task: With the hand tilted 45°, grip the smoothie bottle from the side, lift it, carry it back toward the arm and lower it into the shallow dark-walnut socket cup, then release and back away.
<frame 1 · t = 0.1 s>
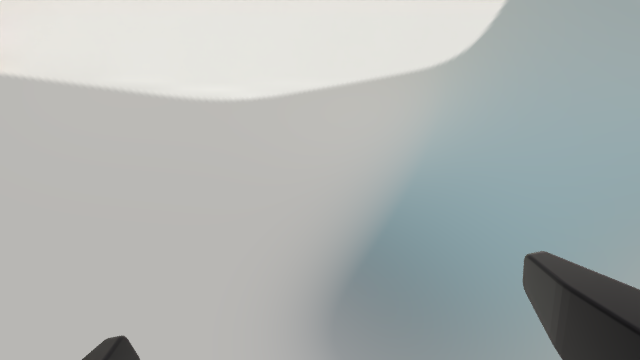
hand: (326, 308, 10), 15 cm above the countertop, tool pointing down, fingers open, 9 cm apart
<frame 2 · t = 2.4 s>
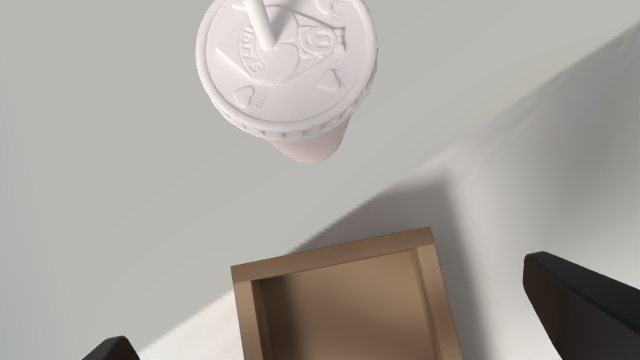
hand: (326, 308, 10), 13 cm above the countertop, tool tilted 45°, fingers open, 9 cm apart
smoothie: (310, 131, 26), on the countertop
socket block: (350, 342, 23), on the countertop
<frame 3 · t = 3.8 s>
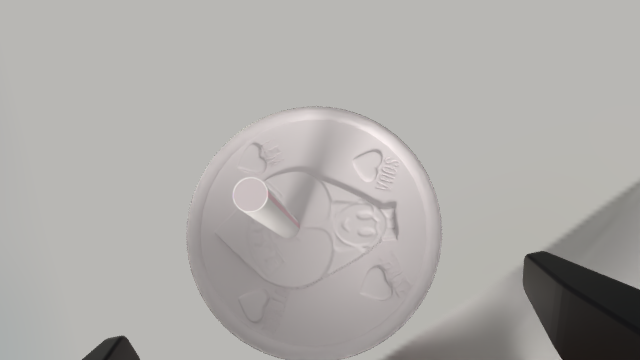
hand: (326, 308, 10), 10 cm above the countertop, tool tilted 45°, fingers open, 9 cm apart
smoothie: (331, 252, 21), on the countertop
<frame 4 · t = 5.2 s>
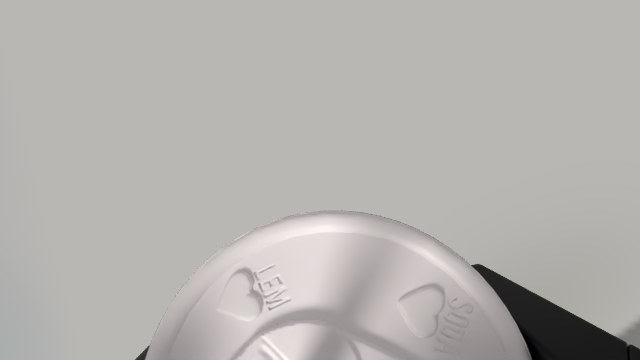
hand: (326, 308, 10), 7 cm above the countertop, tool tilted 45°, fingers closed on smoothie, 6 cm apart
smoothie: (345, 336, 17), on the countertop, touching gripper
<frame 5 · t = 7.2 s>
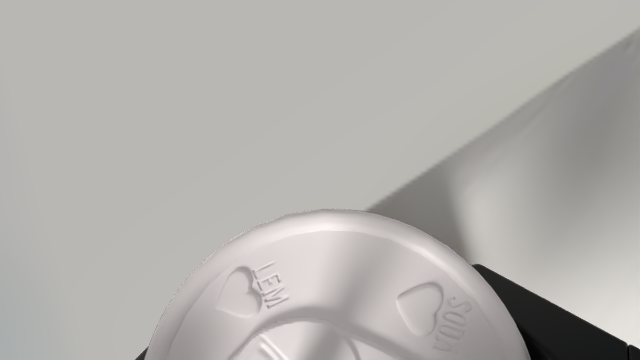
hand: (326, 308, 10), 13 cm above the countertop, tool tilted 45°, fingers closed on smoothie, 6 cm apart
smoothie: (347, 334, 17), point 6 cm above the countertop, touching gripper
when the fingers open (8 cm above the countertop, at t = 9.1 s): smoothie drops 1 cm, resting on socket block.
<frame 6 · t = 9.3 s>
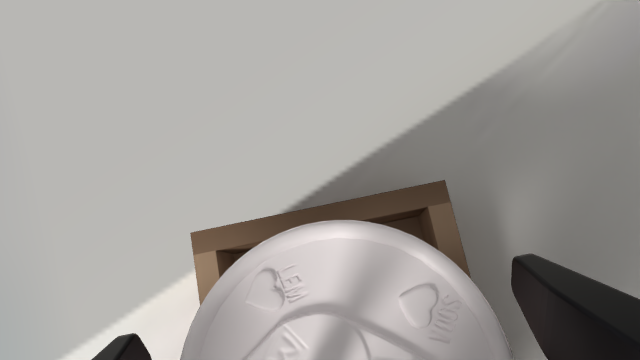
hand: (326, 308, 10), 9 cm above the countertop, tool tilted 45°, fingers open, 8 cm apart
smoothie: (349, 334, 18), resting on socket block
socket block: (344, 330, 18), on the countertop
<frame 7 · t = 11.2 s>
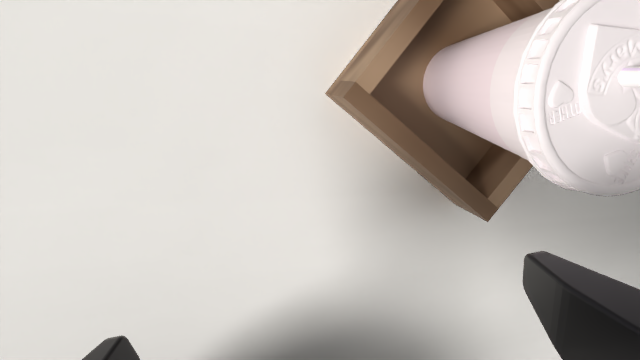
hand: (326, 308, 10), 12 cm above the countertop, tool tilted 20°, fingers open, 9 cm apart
smoothie: (456, 83, 23), resting on socket block
socket block: (452, 79, 23), on the countertop
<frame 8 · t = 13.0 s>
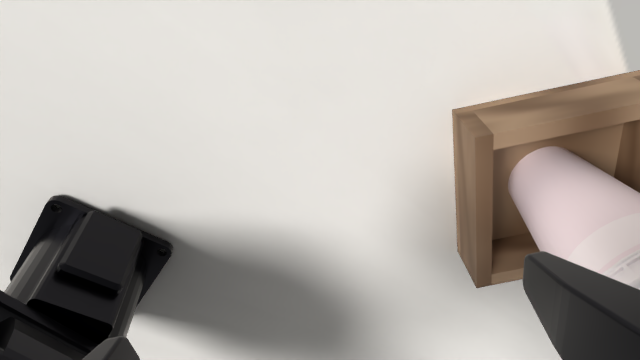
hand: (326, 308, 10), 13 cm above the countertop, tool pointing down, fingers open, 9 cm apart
smoothie: (540, 175, 25), resting on socket block
socket block: (540, 169, 25), on the countertop
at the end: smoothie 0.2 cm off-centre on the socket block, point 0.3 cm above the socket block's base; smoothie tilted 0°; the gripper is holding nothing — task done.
